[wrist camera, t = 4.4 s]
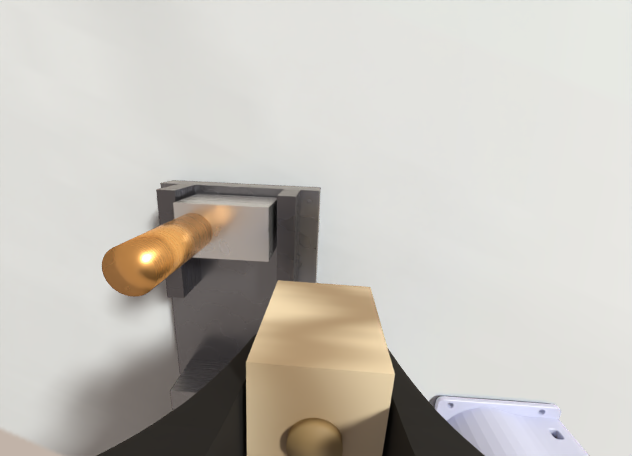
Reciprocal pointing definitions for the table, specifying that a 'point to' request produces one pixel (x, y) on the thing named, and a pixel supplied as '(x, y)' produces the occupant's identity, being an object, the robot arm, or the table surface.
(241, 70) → the table surface
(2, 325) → the table surface
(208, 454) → the robot arm
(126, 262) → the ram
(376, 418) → the light wooden block
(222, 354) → the press frame
